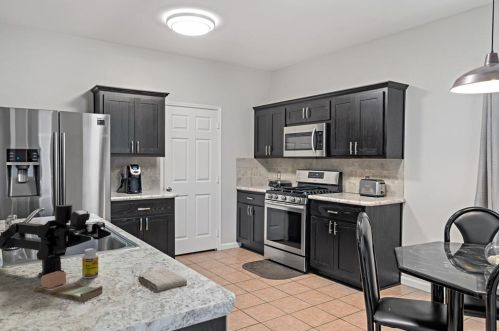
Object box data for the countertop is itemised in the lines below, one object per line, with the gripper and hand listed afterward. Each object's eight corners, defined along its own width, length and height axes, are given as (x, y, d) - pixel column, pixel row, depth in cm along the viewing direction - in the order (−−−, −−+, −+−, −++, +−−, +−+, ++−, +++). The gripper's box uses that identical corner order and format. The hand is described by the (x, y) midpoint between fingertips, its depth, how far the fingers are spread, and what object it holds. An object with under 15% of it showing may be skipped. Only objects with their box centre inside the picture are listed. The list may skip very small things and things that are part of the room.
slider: (41, 286, 121) (41, 276, 121) (57, 280, 126) (57, 270, 126) (50, 288, 119) (50, 277, 119) (66, 282, 125) (65, 272, 125)
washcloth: (164, 273, 142) (164, 265, 142) (188, 285, 128) (188, 276, 128) (135, 280, 134) (135, 271, 134) (157, 293, 120) (157, 284, 120)
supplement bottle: (83, 280, 132) (83, 252, 132) (81, 276, 137) (81, 249, 137) (99, 277, 136) (99, 250, 135) (96, 273, 140) (96, 247, 140)
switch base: (33, 291, 121) (33, 284, 121) (55, 283, 128) (55, 277, 128) (82, 301, 112) (82, 294, 112) (102, 292, 120) (102, 286, 120)
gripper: (46, 214, 128) (79, 217, 121) (89, 208, 145) (119, 210, 139) (47, 246, 128) (79, 250, 122) (89, 236, 145) (119, 239, 139)
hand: (101, 236), depth 130 cm, fingers open, 9 cm apart
